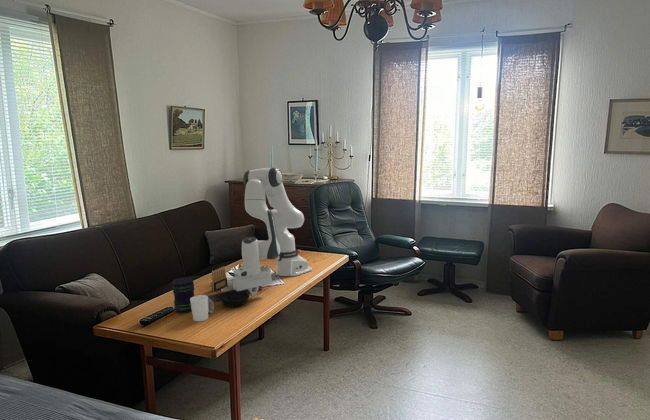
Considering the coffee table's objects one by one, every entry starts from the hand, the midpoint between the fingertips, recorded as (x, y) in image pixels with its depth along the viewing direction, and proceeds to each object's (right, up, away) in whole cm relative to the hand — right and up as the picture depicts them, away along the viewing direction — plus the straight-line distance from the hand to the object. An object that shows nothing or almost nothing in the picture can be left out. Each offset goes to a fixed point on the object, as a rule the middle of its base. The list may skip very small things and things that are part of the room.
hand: (253, 295), depth 227 cm
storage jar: (-31, -5, -12) cm, 34 cm away
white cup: (-21, -6, -24) cm, 32 cm away
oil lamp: (-8, -3, -5) cm, 9 cm away
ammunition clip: (-22, 0, +18) cm, 28 cm away
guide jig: (-8, -2, -2) cm, 9 cm away
